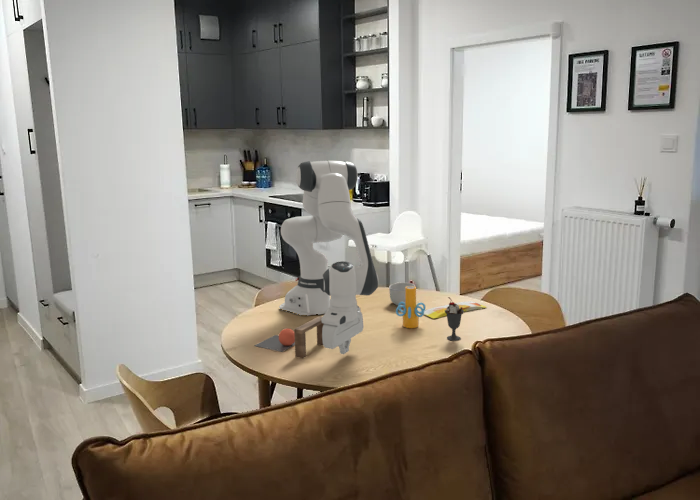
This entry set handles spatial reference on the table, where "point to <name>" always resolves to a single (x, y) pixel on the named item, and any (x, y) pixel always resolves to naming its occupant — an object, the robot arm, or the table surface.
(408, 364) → the table surface
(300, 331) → the bridge
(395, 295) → the teacup
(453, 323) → the sundae
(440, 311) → the food package
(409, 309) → the cylinder
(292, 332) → the ball
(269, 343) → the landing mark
